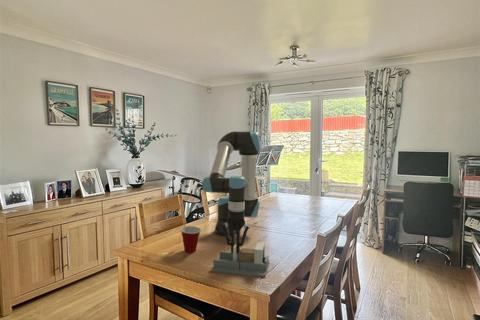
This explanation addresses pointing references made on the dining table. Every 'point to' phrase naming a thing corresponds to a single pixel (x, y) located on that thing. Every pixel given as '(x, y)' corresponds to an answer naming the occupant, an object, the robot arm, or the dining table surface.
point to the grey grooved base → (243, 263)
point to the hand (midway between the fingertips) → (235, 259)
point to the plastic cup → (190, 238)
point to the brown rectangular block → (246, 255)
